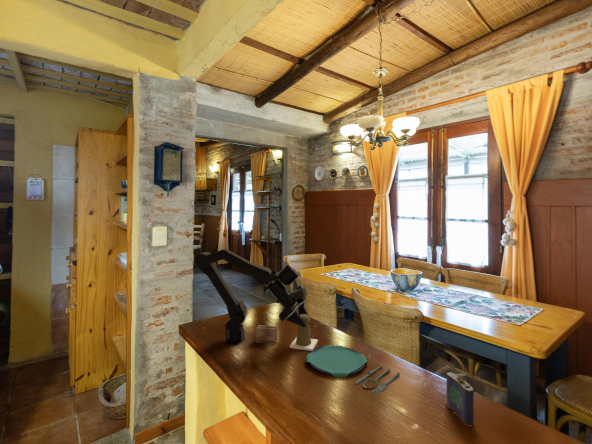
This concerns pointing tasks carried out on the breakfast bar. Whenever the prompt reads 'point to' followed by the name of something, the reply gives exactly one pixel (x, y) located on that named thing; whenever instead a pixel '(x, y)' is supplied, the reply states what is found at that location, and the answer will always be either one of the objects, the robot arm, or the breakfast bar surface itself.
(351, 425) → the breakfast bar surface
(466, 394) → the flask
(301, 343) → the cork
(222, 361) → the breakfast bar surface
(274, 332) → the napkin holder
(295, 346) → the plate
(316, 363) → the cutlery set
